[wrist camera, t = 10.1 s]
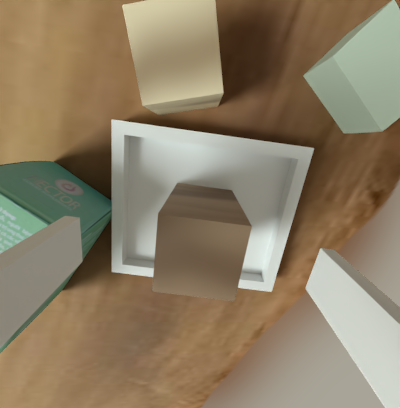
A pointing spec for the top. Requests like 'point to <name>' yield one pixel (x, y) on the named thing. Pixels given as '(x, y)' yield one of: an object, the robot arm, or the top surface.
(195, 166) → the tray
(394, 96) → the sage block
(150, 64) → the oak block
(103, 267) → the top surface
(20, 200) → the box
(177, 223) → the walnut block
